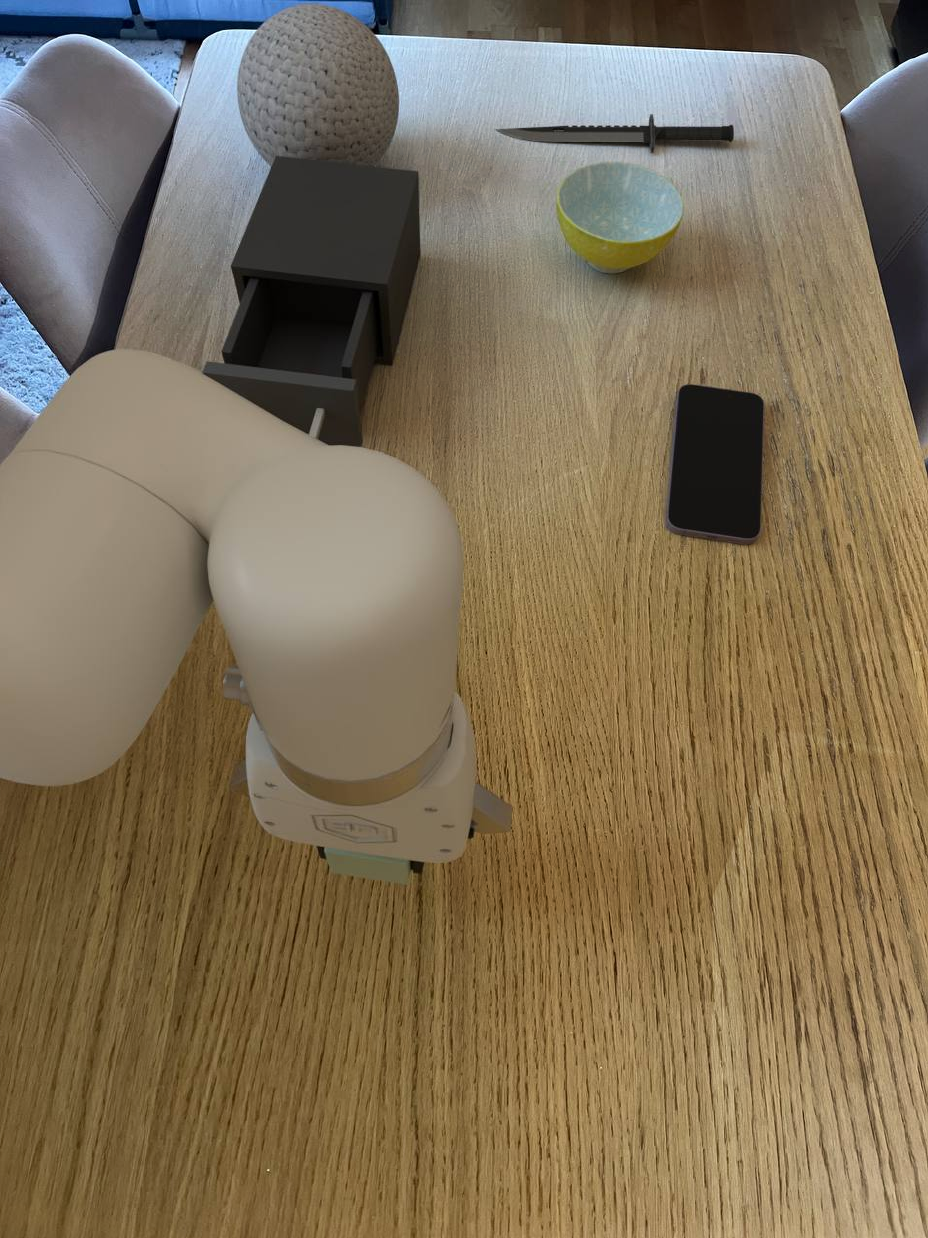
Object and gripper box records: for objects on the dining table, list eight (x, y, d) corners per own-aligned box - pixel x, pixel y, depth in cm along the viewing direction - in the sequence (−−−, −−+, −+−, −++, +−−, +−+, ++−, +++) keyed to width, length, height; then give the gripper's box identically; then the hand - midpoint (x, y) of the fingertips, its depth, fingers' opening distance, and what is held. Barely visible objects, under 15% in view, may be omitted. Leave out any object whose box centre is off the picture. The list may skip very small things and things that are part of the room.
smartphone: (665, 527, 70) (678, 381, 77) (662, 535, 70) (675, 390, 78) (761, 541, 69) (765, 394, 76) (757, 549, 70) (761, 403, 77)
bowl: (672, 227, 89) (687, 168, 83) (665, 307, 83) (680, 249, 78) (557, 212, 89) (564, 152, 84) (542, 290, 84) (549, 231, 78)
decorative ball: (222, 189, 90) (185, 28, 77) (307, 114, 97) (287, -46, 84) (350, 240, 87) (334, 80, 74) (429, 158, 93) (427, -2, 80)
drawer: (345, 511, 69) (336, 452, 64) (199, 492, 70) (177, 432, 64) (391, 334, 79) (387, 268, 73) (263, 319, 80) (249, 253, 74)
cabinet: (392, 365, 78) (387, 283, 71) (250, 348, 79) (230, 265, 72) (420, 255, 86) (418, 170, 78) (289, 240, 86) (275, 155, 79)
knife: (494, 141, 94) (496, 109, 96) (494, 156, 96) (496, 124, 98) (736, 141, 93) (732, 109, 95) (732, 157, 94) (728, 125, 97)
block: (330, 873, 51) (323, 851, 47) (347, 798, 53) (341, 772, 49) (408, 885, 51) (407, 864, 47) (421, 809, 53) (421, 784, 49)
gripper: (118, 764, 34) (213, 883, 50) (561, 832, 34) (516, 930, 50) (178, 596, 38) (248, 756, 54) (577, 655, 38) (530, 799, 53)
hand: (376, 839), depth 52 cm, fingers closed on block, 4 cm apart
